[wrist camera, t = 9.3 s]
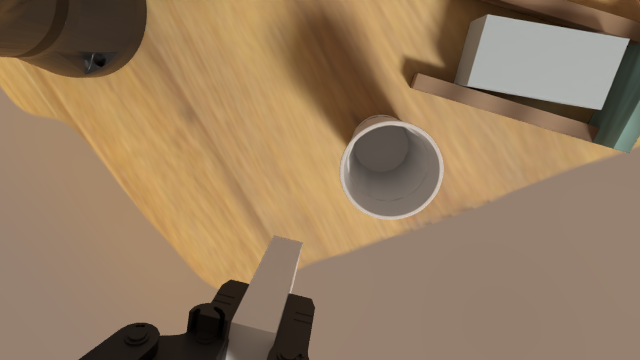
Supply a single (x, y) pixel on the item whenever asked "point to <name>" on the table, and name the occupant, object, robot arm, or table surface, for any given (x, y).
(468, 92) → the brown green u-shaped frame
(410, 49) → the table surface
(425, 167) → the cup
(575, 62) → the block
